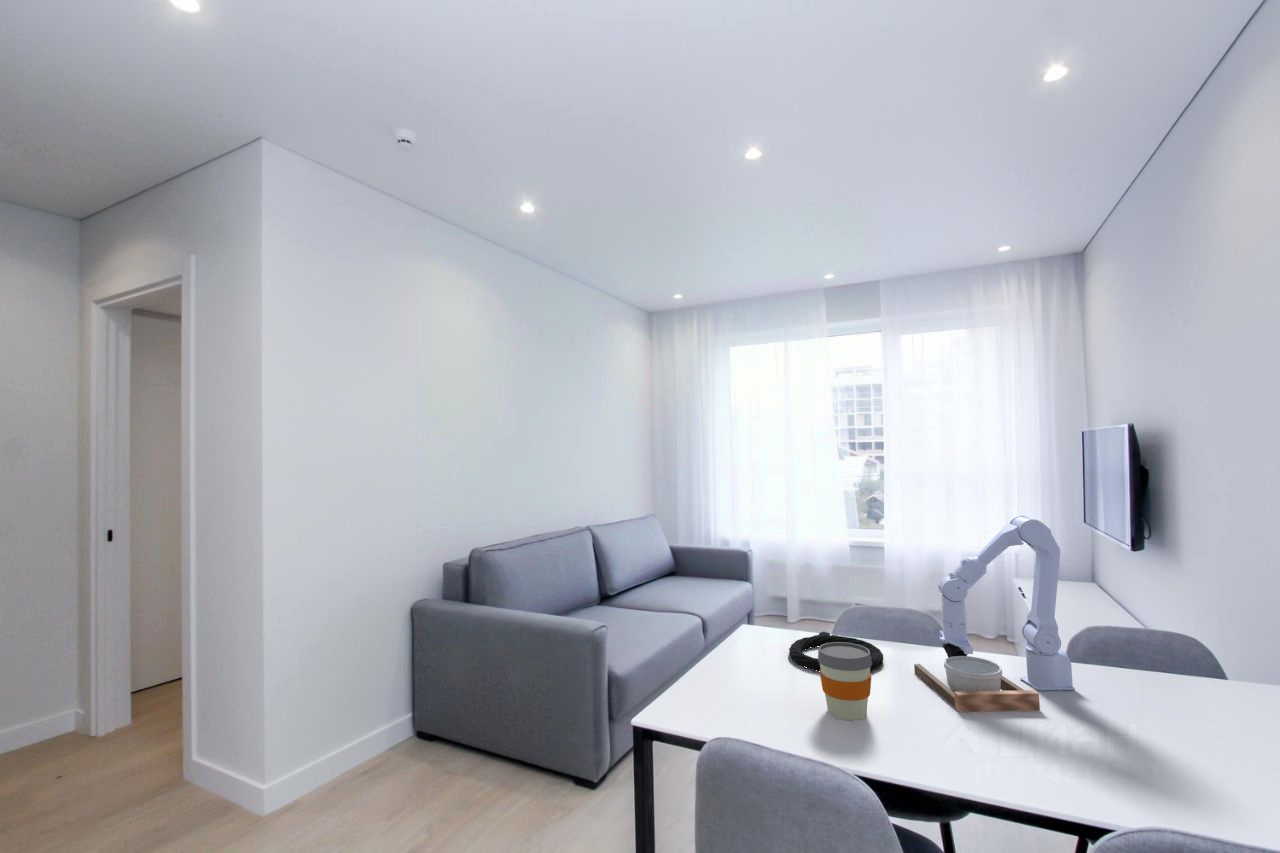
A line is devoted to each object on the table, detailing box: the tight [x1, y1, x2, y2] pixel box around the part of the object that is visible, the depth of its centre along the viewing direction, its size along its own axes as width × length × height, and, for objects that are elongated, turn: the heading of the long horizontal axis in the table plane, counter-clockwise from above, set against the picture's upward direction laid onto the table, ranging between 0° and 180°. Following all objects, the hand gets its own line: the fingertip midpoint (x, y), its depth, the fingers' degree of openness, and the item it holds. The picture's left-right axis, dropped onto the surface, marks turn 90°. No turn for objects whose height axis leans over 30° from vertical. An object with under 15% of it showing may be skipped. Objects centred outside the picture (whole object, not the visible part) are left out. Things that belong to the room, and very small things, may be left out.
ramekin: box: [943, 655, 1003, 692], centre depth 153 cm, size 13×13×7 cm
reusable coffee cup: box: [817, 642, 872, 722], centre depth 144 cm, size 12×12×15 cm
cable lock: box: [788, 631, 884, 673], centre depth 181 cm, size 28×4×30 cm
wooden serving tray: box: [913, 663, 1041, 713], centre depth 153 cm, size 19×25×4 cm
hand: (957, 672), depth 161 cm, fingers closed
